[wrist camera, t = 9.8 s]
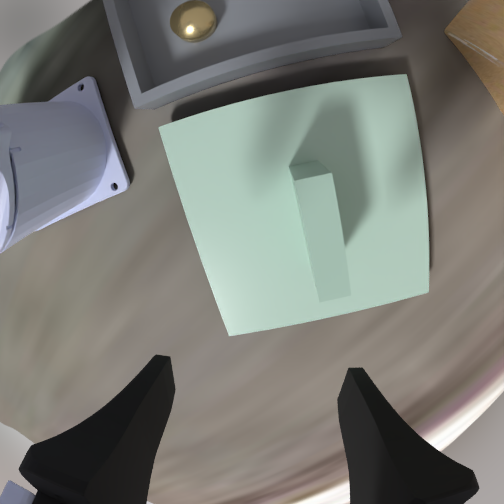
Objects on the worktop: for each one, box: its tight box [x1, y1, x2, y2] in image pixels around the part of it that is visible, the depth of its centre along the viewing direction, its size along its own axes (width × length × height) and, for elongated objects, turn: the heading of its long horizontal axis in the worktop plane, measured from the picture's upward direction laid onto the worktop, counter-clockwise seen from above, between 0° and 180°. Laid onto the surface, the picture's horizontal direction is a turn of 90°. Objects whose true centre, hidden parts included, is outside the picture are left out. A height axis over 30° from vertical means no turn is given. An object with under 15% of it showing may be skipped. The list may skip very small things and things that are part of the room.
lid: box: [159, 74, 429, 336], centre depth 16 cm, size 14×14×5 cm
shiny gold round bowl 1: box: [170, 0, 217, 43], centre depth 14 cm, size 2×2×1 cm
